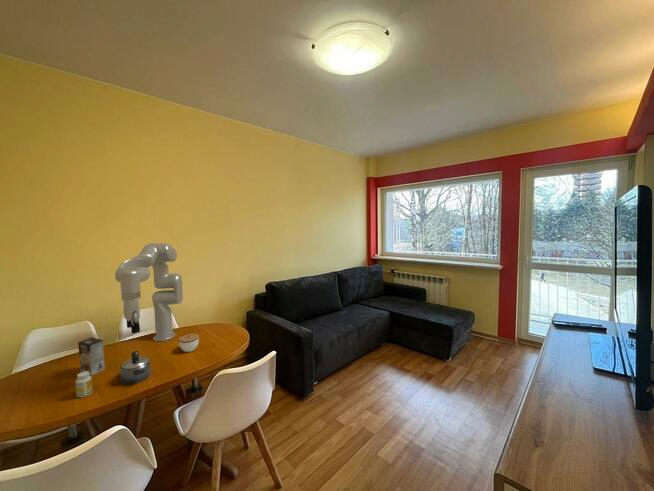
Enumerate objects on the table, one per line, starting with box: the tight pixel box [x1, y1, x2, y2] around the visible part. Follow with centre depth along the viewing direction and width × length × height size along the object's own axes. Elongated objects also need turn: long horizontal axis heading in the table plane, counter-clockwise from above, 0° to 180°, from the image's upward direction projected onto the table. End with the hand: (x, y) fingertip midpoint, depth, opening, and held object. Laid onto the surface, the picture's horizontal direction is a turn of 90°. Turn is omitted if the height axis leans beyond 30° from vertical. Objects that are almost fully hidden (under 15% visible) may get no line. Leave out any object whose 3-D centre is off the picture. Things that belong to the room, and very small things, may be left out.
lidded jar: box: [178, 333, 200, 353], centre depth 162 cm, size 11×11×9 cm
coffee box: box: [78, 336, 106, 376], centre depth 138 cm, size 9×6×16 cm
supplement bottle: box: [75, 371, 93, 398], centre depth 120 cm, size 5×5×10 cm
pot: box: [119, 358, 152, 385], centre depth 133 cm, size 16×12×7 cm
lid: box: [121, 350, 150, 370], centre depth 133 cm, size 11×11×6 cm
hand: (133, 329), depth 131 cm, fingers open, 9 cm apart
